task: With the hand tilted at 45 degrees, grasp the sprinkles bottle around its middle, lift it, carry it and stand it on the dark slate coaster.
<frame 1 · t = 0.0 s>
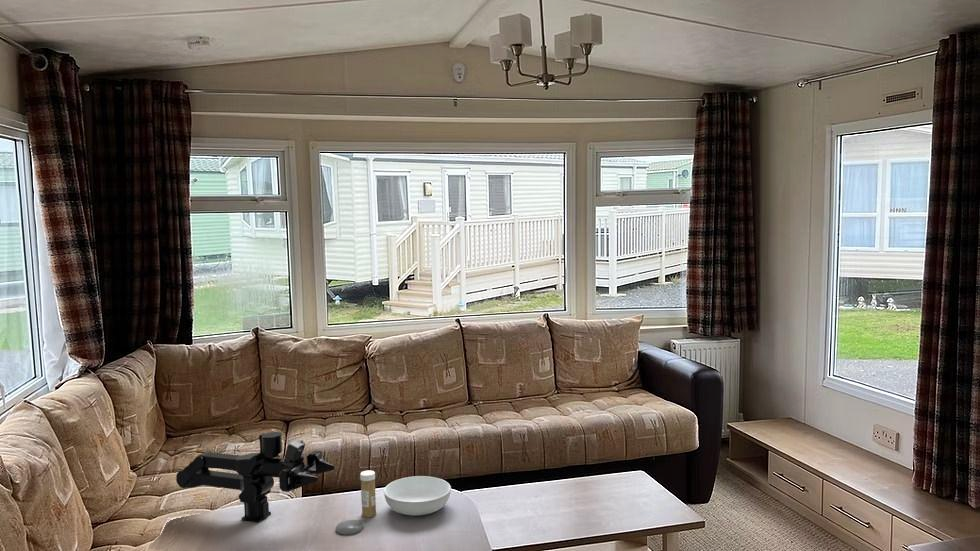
hand: (326, 473, 198), 17 cm above the table, tool horizontal, fingers open, 9 cm apart
coaster: (349, 528, 198), on the table
sprinkles bottle: (369, 515, 207), on the table
serving bowl: (418, 509, 211), on the table
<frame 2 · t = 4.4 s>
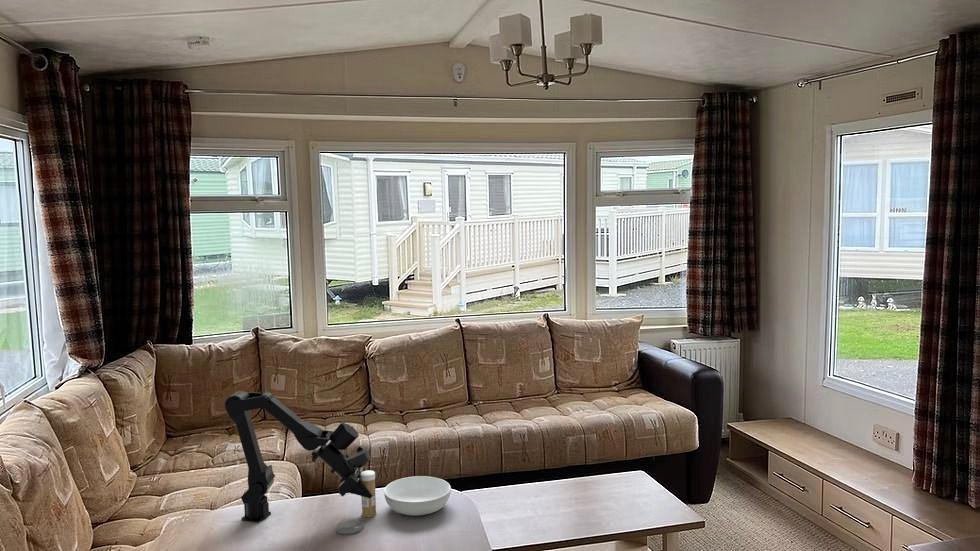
hand: (372, 494, 207), 7 cm above the table, tool tilted 45°, fingers closed on sprinkles bottle, 4 cm apart
sprinkles bottle: (369, 515, 207), on the table, touching gripper
everything else where it was.
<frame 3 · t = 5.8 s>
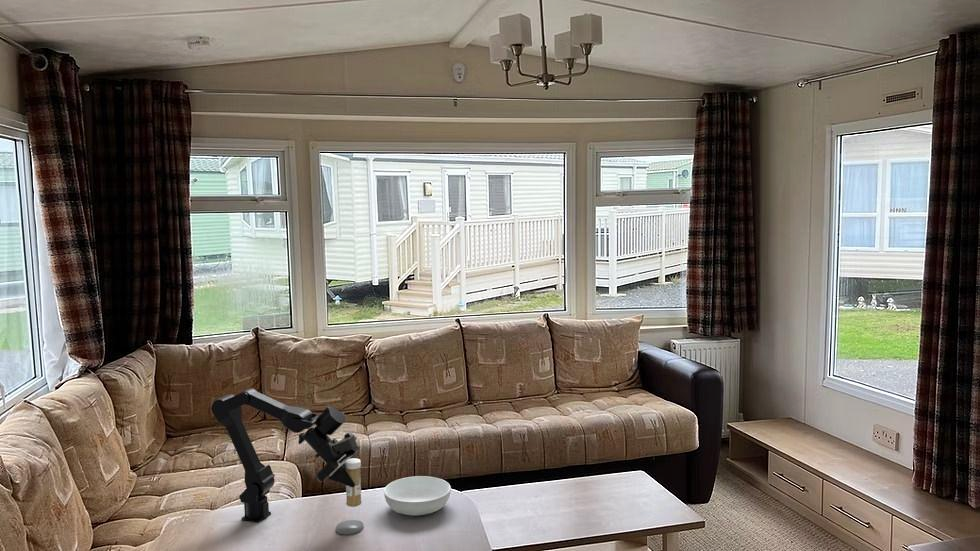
hand: (357, 483, 199), 13 cm above the table, tool tilted 45°, fingers closed on sprinkles bottle, 4 cm apart
sprinkles bottle: (353, 504, 200), point 6 cm above the table, touching gripper
everything else where it was.
when the fingers open (8 cm above the table, at t = 7.6 s): sprinkles bottle stays where it is, resting on coaster.
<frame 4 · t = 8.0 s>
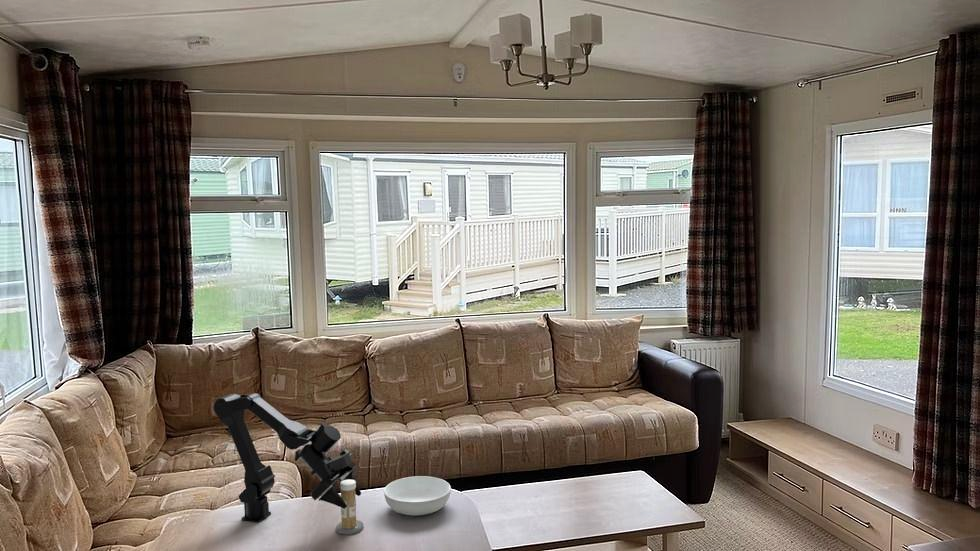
hand: (353, 501, 197), 9 cm above the table, tool tilted 45°, fingers open, 9 cm apart
sprinkles bottle: (348, 526, 198), point 1 cm above the table, touching coaster
everything else where it was.
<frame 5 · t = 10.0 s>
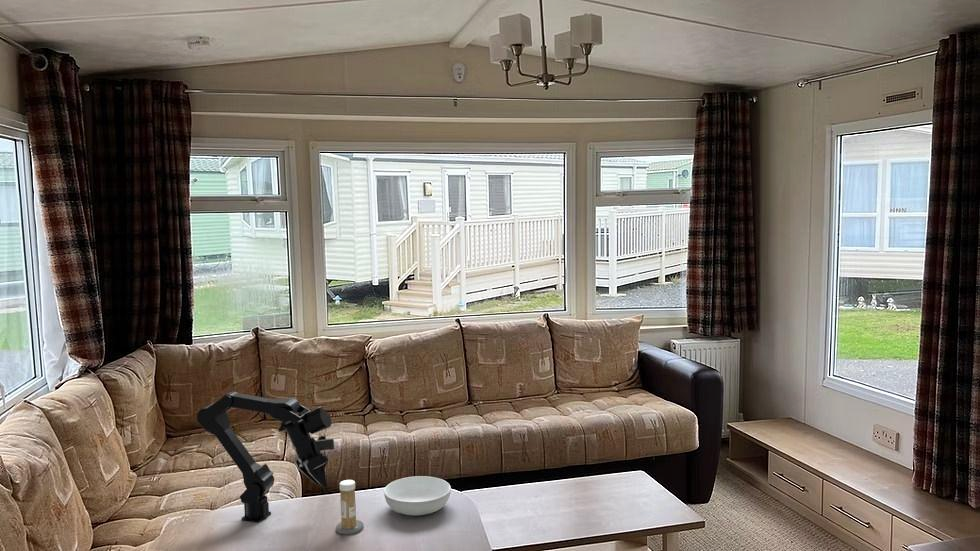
hand: (321, 485, 203), 11 cm above the table, tool tilted 25°, fingers open, 9 cm apart
nothing on the table moved.
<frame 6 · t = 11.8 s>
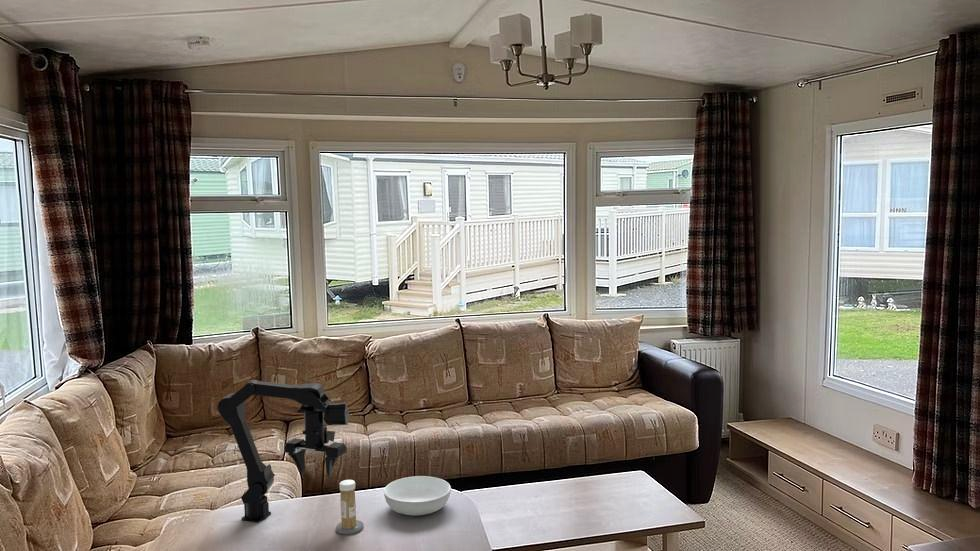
hand: (316, 474, 206), 13 cm above the table, tool pointing down, fingers open, 9 cm apart
nothing on the table moved.
at the end: sprinkles bottle 0.3 cm from the coaster (horizontally); sprinkles bottle tilted 0°; the gripper is holding nothing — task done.
